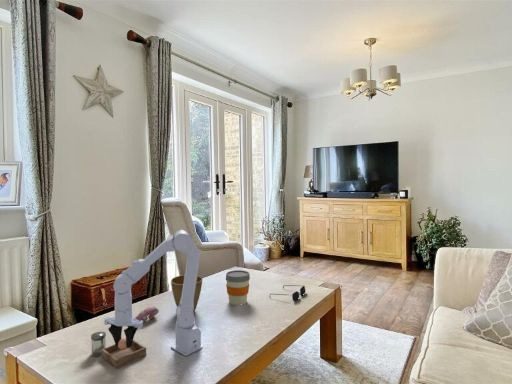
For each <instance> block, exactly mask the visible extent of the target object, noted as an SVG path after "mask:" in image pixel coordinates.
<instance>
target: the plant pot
mask: <svg viewBox="0 0 512 384" xmlns="http://www.w3.org/2000/svg"><path fill="white" fill-rule="evenodd" d="M184 276H185V274H183V275H177V276H173V278H171V280H170V285H171V290H172V295H173V299H174V303H175V306H176V308H177V307H178V305H179V304H180V299H181V296H182V289H183V283H184ZM202 285H203V277H201V276H200V275H197V281H196V288H195V294H194V309H193V314H194V313H196V309H197V306H198V303H199V300H200V296H201V292H202V291H201V290H202Z"/></svg>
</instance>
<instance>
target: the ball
mask: <svg viewBox="0 0 512 384" xmlns="http://www.w3.org/2000/svg"><path fill="white" fill-rule="evenodd" d="M118 348H119V349H120V350H126V349H127V346H126V337H121V340H120V341H119V342H118Z"/></svg>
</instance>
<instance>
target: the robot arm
mask: <svg viewBox="0 0 512 384" xmlns="http://www.w3.org/2000/svg"><path fill="white" fill-rule="evenodd" d="M176 250H177V251H179V252H181V253H183V254H184V256H185V257H186V264H185V270H184V271H185V272H184V275H185V276H184V283H183V289H182V296H181V299H180V304H179V305H178V307H177V306H176V309H175V314H176V317H177V318H176V322H175V326H174V327H175V343H174V344H173V345H171V346H170V348H171V349H173V350H175V351H176V352H178V353H180V354H181V355H183V356H185V357H187V356H189V355H191V354H193V353H195V352H197V351H199V350H201V349H203V345H202V339H201V338H202V334H201V333H202V331H201V330H200V329H199V328H198V327H197V325H196V321H195V314H194V313H193V309H194V294H195V288H196V281H197V276H198V274H199V273H198V272H199V268H200V267H199V265H200V261H201V260H200V259H201V252H200V250H199V248H198V246H197V244H196V242H195V240H194V238H193V236H192V235H191V234H190V233H188V231H186V230H183V229H179V230H176V231H175V232H174V233H173V234H171V235H169V236H168V237H167V238H166V239H165V240H163V241H162V242H161V243H160V244H159V245H158V246H157V247H155V249H153V250H152V251H151V252H150V253H149V254H148V255H147V256H146V257H145V258H141V259H140V258H139V259H137V260H133V261H132V262H131V264H132V265H130V266H129V267H128V268H126V269H125V270H122V271H121V273H120V274H119V275H117V276H116V277H115V280H114V282H113V290H114V317H109V316H108V317H106V318H104V320H103V321H104V325H105V326H108V325H110V326H109V327H108V331H109V334H110V335H111V336H112V339H113V341H114V344H115V345H116V346H118V342H119V341H120V340H121V339H122V332H123V333H124V335H125V338H126V346H127V348H129V347H130V346H132V342H133V340H134V338H135V335H136V332H137V330H140V329H142V328H143V327H144V322H143V320H141V321H139V320H136V319H135V318H134V317H133V302H132V301H133V295H132V294H133V293H132V285H134V284H136V283H137V282H138V281H140V280H141V279H142V278H143V277H144V276H145V275H146V274H147V273H148V272H150V268H151V265H153V264H155V262H157V260H159V259H160V258H161V257H163V256H164V255H165V254H166V253H169V252H170V253H171V252H175V251H176ZM123 327H127V328H125V329H123Z"/></svg>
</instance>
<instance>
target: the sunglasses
mask: <svg viewBox="0 0 512 384" xmlns="http://www.w3.org/2000/svg"><path fill="white" fill-rule="evenodd" d="M285 287H299V285H297V284H296V285H293V284H289V285H288V284H285V285H283V286H282V289H283V288H285ZM304 293H305V294H306V286H305V285H302V286H301V287H300V289H299V291H298V290H296V291H294V292H293V293H292V294H291V296H292V301H293V302H294V301H295V302H297V301H298V300H299V299H298V298H300V296H301V297H303V296H304V295H305V294H304ZM303 294H304V295H303ZM271 295H275V296H278V295H279V296H280V295H281V296H288V294H287V293H285V294H284V293H283V294H282V293H270V294H269V297H270V298H271ZM302 295H303V296H302ZM269 297H268V298H269ZM297 299H298V300H297ZM296 300H297V301H296Z"/></svg>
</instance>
